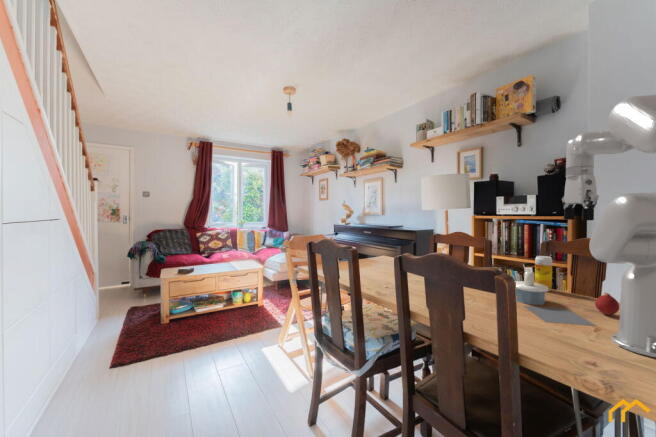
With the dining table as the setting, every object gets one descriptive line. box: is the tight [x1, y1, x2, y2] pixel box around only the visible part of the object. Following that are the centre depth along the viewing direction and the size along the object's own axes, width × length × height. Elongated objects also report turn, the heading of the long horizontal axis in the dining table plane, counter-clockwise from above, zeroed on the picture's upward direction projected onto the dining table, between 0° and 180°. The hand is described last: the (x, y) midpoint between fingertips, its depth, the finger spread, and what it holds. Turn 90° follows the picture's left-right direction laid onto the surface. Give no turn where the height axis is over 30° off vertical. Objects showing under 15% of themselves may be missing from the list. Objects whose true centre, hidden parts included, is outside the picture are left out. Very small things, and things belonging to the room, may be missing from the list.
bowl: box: [516, 289, 546, 306], centre depth 111 cm, size 10×10×6 cm
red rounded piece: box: [594, 292, 620, 316], centre depth 96 cm, size 6×6×8 cm
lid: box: [514, 271, 549, 293], centre depth 111 cm, size 12×12×6 cm
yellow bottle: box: [534, 255, 553, 292], centre depth 126 cm, size 6×6×15 cm
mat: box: [523, 305, 597, 327], centre depth 96 cm, size 15×14×1 cm
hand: (578, 219), depth 102 cm, fingers open, 9 cm apart
